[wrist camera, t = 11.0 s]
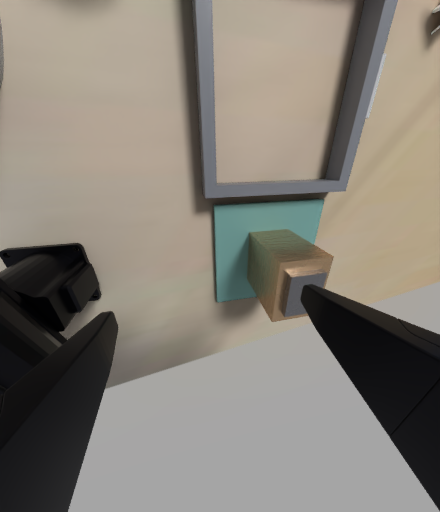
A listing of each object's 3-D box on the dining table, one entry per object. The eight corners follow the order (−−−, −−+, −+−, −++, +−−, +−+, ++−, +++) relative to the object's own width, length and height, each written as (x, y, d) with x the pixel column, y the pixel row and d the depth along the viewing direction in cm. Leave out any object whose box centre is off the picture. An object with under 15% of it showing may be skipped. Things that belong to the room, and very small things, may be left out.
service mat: (216, 299, 24) (217, 302, 23) (213, 204, 18) (214, 206, 18) (301, 287, 26) (303, 289, 25) (320, 198, 20) (324, 199, 20)
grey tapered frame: (203, 194, 18) (205, 198, 16) (186, -95, 11) (187, -146, 9) (335, 188, 20) (350, 190, 18) (395, -52, 13) (429, -86, 11)
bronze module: (246, 278, 23) (274, 327, 16) (249, 232, 20) (284, 267, 13) (281, 274, 23) (321, 318, 17) (287, 228, 21) (339, 260, 14)
